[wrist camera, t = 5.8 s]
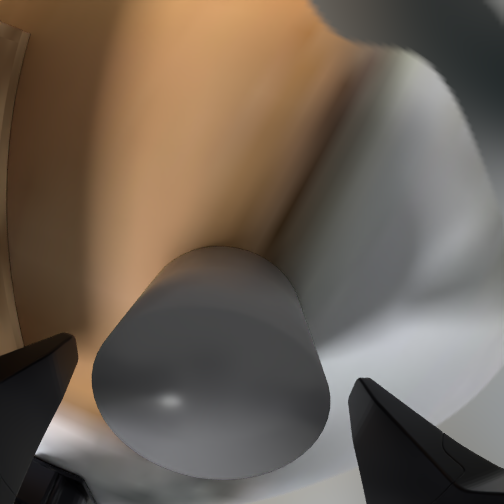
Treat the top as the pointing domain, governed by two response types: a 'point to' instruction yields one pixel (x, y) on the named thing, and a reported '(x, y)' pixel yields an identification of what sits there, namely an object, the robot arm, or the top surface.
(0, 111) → the box
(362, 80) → the top surface
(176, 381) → the grey domed cylinder
